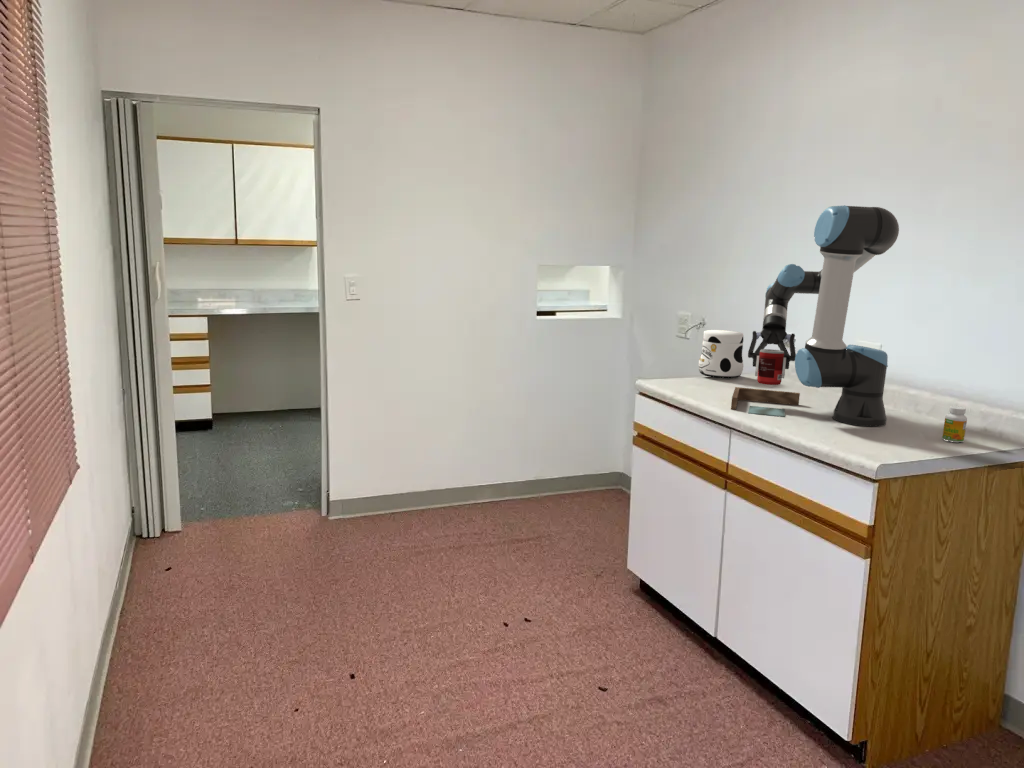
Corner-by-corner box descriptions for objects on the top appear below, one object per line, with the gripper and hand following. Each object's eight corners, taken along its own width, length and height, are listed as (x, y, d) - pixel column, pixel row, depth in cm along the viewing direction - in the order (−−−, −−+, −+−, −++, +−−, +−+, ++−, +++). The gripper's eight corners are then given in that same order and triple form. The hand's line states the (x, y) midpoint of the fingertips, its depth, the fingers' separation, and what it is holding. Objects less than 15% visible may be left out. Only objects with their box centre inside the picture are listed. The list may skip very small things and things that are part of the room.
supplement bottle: (939, 440, 217) (944, 407, 215) (945, 437, 220) (950, 404, 218) (960, 444, 213) (965, 410, 211) (966, 441, 216) (971, 408, 215)
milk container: (689, 375, 307) (692, 331, 303) (713, 371, 318) (717, 328, 315) (726, 382, 294) (730, 336, 291) (750, 378, 306) (754, 333, 302)
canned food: (777, 382, 257) (780, 349, 255) (783, 385, 249) (787, 352, 247) (754, 381, 257) (757, 348, 256) (759, 384, 250) (762, 350, 248)
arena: (798, 404, 259) (799, 392, 258) (799, 418, 238) (801, 406, 237) (734, 398, 265) (735, 386, 264) (730, 411, 244) (731, 399, 244)
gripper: (805, 330, 261) (802, 384, 249) (743, 326, 268) (736, 378, 255) (807, 316, 255) (804, 370, 243) (743, 312, 262) (737, 365, 250)
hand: (769, 374), depth 249 cm, fingers closed on canned food, 8 cm apart
